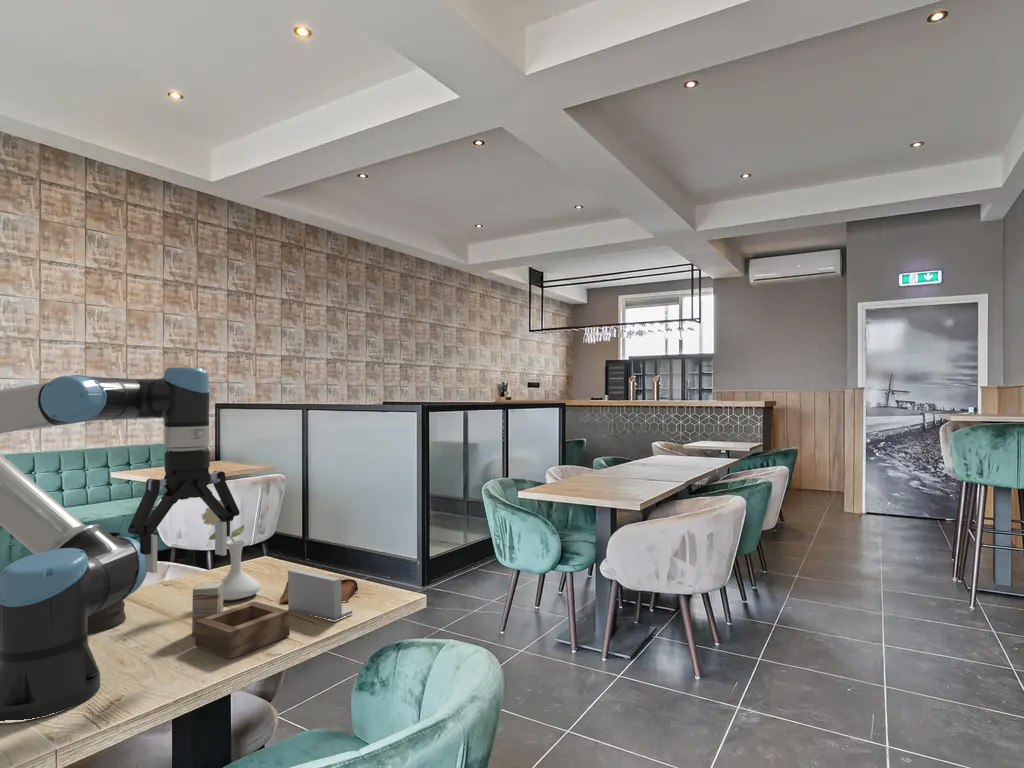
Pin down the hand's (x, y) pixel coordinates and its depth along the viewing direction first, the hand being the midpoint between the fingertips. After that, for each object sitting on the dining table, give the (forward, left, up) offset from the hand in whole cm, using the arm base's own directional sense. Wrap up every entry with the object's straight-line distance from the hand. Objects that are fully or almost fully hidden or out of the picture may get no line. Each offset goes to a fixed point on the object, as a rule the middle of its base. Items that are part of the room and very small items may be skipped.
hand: (187, 562), depth 112 cm
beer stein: (0, +40, -19) cm, 44 cm away
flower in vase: (+26, +28, -19) cm, 42 cm away
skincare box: (+10, +11, -19) cm, 24 cm away
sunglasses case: (+36, +8, -19) cm, 42 cm away
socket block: (+11, 0, -18) cm, 21 cm away
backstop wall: (+30, 0, -18) cm, 35 cm away
